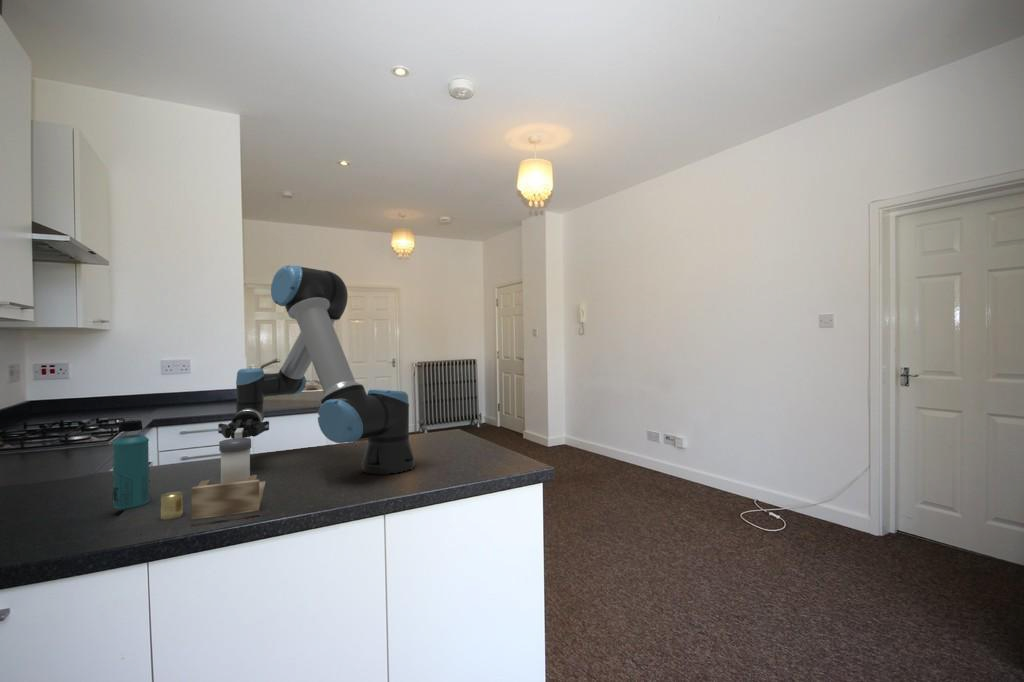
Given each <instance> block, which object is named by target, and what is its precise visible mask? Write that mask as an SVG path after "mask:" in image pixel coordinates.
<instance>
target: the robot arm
mask: <svg viewBox="0 0 1024 682" xmlns="http://www.w3.org/2000/svg"><path fill="white" fill-rule="evenodd" d="M348 294H349V293H348V289H347V286H346V284H345V281H343V279H342V278H341V276H339V275H338V274H337V273H334V272H332V271H330V270H329V271H328V270H322V269H316V268H309V267H304V266H301V265H284V266H281V267H280V268H279V269H278V270H277V271H276V273H275V274H274V275H273V279H272V282H271V285H270V295H271V299H272V301H273V302H274V303H275V304H276V305H278V306H280V307H285V309H286V312H287V315H288V316H289V318H291V319H292V320H296V322H297V325H298V327H299V330H300V333H299V334H298V336H297V337H296V340H295V342H294V343H293V346H292V347H291V349H290V351H289V353H288V355H287V357H286V359H285V361H284V362H283V364H282V366H281V368H280V369H279V371H278V372H274V373H265V372H264V369H263V368H257V367H256V368H240V369H238V371H237V373H236V380H235V384H236V385H235V386H236V387H235V388H236V405H235V406H236V407H235V408H236V409H235V416H234V417H233V419H232V420H231V422H228V424H227V423H218V424H217V425H218V426H217V428H218V431H217V432H218V434H220V435H222V436H223V438H225V439H235V438H251V437H254V438H255V437H258V436H259V435H261V434H262V433H264V432H267V431H268V432H269V430H270V421H269V420H265V421H264V419H265V412H264V398H265V397H267V398H268V397H276V396H277V397H279V396H287V395H288V396H290V395H291V396H292V395H295V394H301V393H302V392H303V391H304V390H305V388H306V384H307V378H306V376H305V374H306V372H307V371H308V368H309V367H310V365H311V364H312V366H313V367H314V370H315V373H316V375H317V378H318V380H319V383H320V385H321V388H322V391H323V396H322V398H321V399H320V403H321V405H320V407H319V408H318V411H317V414H318V416H317V423H318V426H319V428H320V431H321V432H322V434H323V435H324V437H325V438H326V439H328V440H329V441H331V442H334V443H336V444H345V443H354V442H356V441H359V440H360V441H361V440H364V439H367V446H366V449H365V452H364V455H363V458H362V461H361V471H362V472H364V473H366V474H369V473H370V475H391V474H390V473H395V474H399V473H398V472H401V473H404V472H403V471H405V472H408V471H407V470H409V469H411V468H413V467H414V466H415V467H416V459H415V456H414V452H413V449H412V447H411V444H410V436H409V435H410V429H409V428H410V426H409V425H410V424H409V423H410V421H409V419H410V417H409V416H410V415H409V414H410V404H409V395H408V393H407V392H406V391H403V390H391V389H390V390H389V389H368V391H367V392H366V390H365V387H364V384H362V383H360V382H357V381H356V380H355V378H354V374H353V372H352V370H351V367H350V365H349V362H348V360H347V356H346V355H345V353H344V350H343V347H342V345H341V342H340V340H339V337H338V334H337V332H336V330H335V328H334V323H335V322H336V321H339V320H340V319H341V317H342V316H343V314H344V313H345V310H346V307H347V304H348V297H349V296H348ZM415 467H414V468H415ZM414 468H413V469H414ZM411 470H412V469H411ZM409 471H410V470H409Z"/></svg>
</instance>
